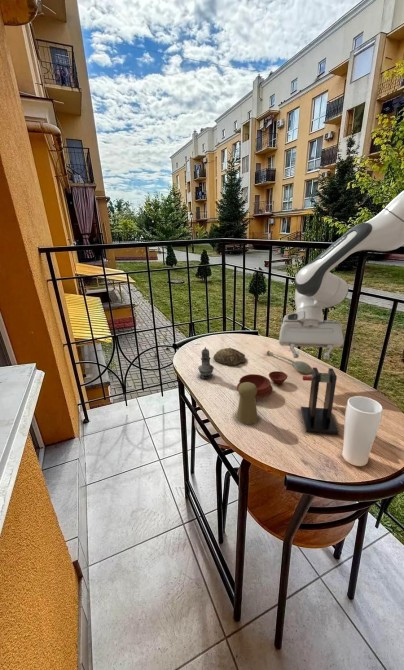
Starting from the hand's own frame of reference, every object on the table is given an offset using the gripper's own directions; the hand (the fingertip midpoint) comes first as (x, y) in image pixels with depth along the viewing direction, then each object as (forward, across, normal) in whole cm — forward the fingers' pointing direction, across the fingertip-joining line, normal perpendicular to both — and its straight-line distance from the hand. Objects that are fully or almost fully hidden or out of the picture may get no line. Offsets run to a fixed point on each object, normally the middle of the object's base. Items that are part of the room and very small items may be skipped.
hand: (311, 358), depth 91 cm
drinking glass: (+30, -6, +14) cm, 33 cm away
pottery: (+10, +15, -6) cm, 19 cm away
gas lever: (+10, 0, +8) cm, 13 cm away
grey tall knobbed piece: (+5, +36, -11) cm, 38 cm away
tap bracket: (+21, 0, +5) cm, 21 cm away
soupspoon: (-5, +5, -22) cm, 23 cm away
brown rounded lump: (-6, +28, -22) cm, 36 cm away
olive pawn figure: (+21, +20, +5) cm, 30 cm away
